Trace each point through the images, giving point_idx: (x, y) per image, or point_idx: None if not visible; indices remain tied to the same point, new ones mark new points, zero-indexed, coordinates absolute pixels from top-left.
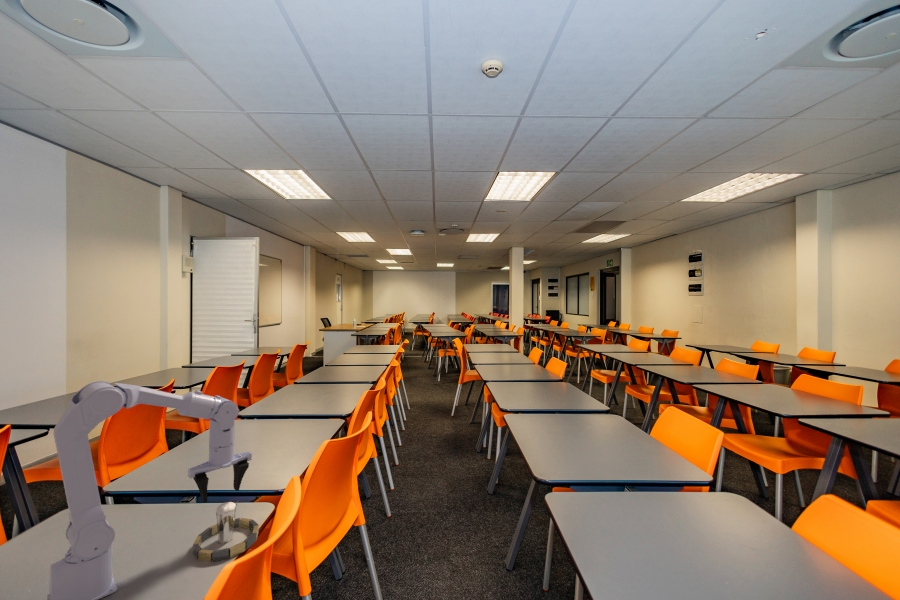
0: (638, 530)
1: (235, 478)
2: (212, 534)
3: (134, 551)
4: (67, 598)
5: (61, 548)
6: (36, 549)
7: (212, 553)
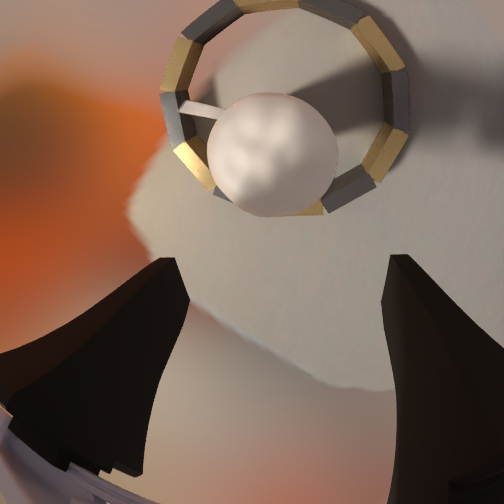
0: None
1: (149, 350)
2: None
3: (474, 271)
4: None
5: None
6: None
7: (363, 11)
